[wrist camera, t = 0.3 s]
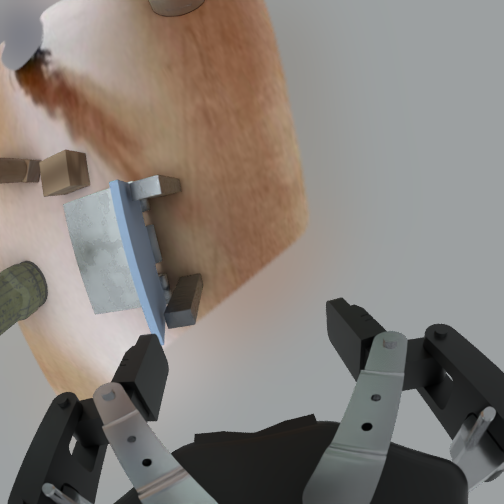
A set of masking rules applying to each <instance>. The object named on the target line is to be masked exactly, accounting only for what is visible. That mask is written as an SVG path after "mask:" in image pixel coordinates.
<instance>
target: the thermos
mask: <svg viewBox="0 0 504 504" xmlns="http://www.w3.org/2000/svg"><path fill="white" fill-rule="evenodd" d="M47 294H48V292H47V284H46V281H45V278H44V276H43V274H42V272H41V270H40V269H39V268H38V267H37V266H36V265H35V264H33V263H32V262H29V261H25V262H22V263H20V264H17V265H13V266H11V267H9V268H7V269H5V270H3V271H2V272H1V273H0V335H1V334H3V333H4V332H5V331H6V330H7V329H9V328H10V327H11V326H12V325H14V324H15V323H16V322H17V321H19V320H24V319H26V318H28V317H29V316H30V315H31V314H33V313H34V312H35V311H36V310H37V309H38V307H40V306H41V305H43V304H44V303H45V301H46V299H47Z"/></svg>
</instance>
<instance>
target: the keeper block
mask: <svg viewBox="0 0 504 504" xmlns="http://www.w3.org/2000/svg"><path fill="white" fill-rule="evenodd" d="M39 164H40V173H41V181H42V188H43V194H44V197H46V196H55V195H65V194H68V193H70V192H73V191H76V190H78V189H81V188H84V187H86V186H89V185H90V181H89V175H88V168H87V161H86V154H85V153H80V152H75V151H70V150H64V151H61V152H59V153H57V154H55V155H53V156H51V157H49V158H47V159H45V160H43V161H41V162H39Z"/></svg>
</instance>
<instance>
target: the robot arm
mask: <svg viewBox="0 0 504 504" xmlns="http://www.w3.org/2000/svg"><path fill="white" fill-rule="evenodd" d="M149 2H150V5H151V7H152V10H153V11H154V12H155V13H157V14H159V15H163V16H177V15H182V14H185V13H188V12H190V11H193V10H194V9H196V8H197V7H199V6H200V5H201V4H202V3H203V2H204V0H149ZM326 315H327V331H328V336H329V339H330V341H331V343H332V345H333V346H334V348H335V349H336V351H337V352H338V354H339V355H340V357H341V359H342V360H343V362H344V363H345V365H346V367H347V368H348V370H349V371H350V373H351V374H352V376H353V377H354V379H355V381H356V382H357V383H356V386H355V388H354V391H353V394H352V397H351V399H350V402H349V404H348V407H347V409H346V411H345V414H344V416H343V418H342V421H341V423H338V422H333V421H316V418H315V416H314V414H311V415H307V416H303V417H299V418H295V419H291V420H287V421H283V422H281V423H279V424H276V425H274V426H271V427H269V428H266V429H264V430H261V431H258V432H255V433H242V432H225V431H222V432H212V433H201V434H195V438H194V442H193V443H190V444H187V445H185V446H183V447H181V448H179V449H177V450H175V451H174V452H172V453H170V452H169V451H168V450H167V449H166V447H165V446H164V445H163V444H162V443H161V441H160V440H159V439H158V437H157V436H156V435H155V433H154V432H153V431H152V429H151V428H150V427H149V425H148V424H147V421H157V420H158V415H159V410H160V406H161V401H162V397H163V392H164V389H165V384H166V380H167V376H168V371H169V368H168V362H167V359H166V356H165V354H164V351H163V349H162V346H161V344H160V341H159V338H158V336H157V335H156V334H147V335H140V337H139V339H138V341H137V343H136V345H135V346H132V347H131V348H130V349H129V350H128V351H127V352H126V353H125V355H124V357H123V359H122V361H121V363H120V366H119V367H118V369H117V371H116V373H115V375H114V377H113V379H112V381H111V383H106V384H104V385H102V386H100V387H99V388H97V389H96V391H95V392H94V394H93V398H90V399H85V400H81V401H79V399H78V398H77V396H76V395H75V394H74V393H72V392H65V393H62V394H60V395H58V396H57V397H56V398H55V399H54V400H53V401H52V403H51V405H50V407H49V409H48V411H47V412H46V414H45V416H44V418H43V420H42V422H41V424H40V426H39V428H38V430H37V432H36V434H35V436H34V438H33V440H32V442H31V445H30V447H29V449H28V451H27V453H26V456H25V458H24V460H23V463H22V465H21V467H20V470H19V472H18V475H17V477H16V480H15V483H14V485H13V488H12V491H11V493H10V497H9V500H8V504H94V503H95V498H96V493H97V488H98V483H99V478H100V474H101V470H102V465H103V461H104V457H105V453H106V449H107V445H108V444H110V445H111V447H112V449H113V451H114V453H115V455H116V456H117V459H118V460H119V462H120V464H121V466H122V468H123V469H124V471H125V473H126V474H127V476H128V478H129V479H130V481H131V483H132V484H133V486H134V487H133V488H132V489H131V490H130V491H129V492H127V493H126V494H125V495H124V496H123V497H121V498H120V499H119V500H118V501H116V502H115V503H114V504H468V493H469V492H470V491H472V490H473V489H474V488H476V487H477V486H479V485H480V484H481V483H483V482H489V481H492V480H494V479H496V478H497V477H498V476H499V475H500V474H501V473H502V472H503V471H504V373H503V372H502V371H501V370H500V369H499V368H498V367H497V366H496V365H495V364H494V363H493V362H491V361H490V360H489V359H488V358H487V357H486V356H485V355H484V354H483V353H481V352H480V351H479V350H478V349H477V348H476V347H474V346H473V345H472V344H471V343H470V342H469V341H468V340H466V339H465V338H464V337H463V336H462V335H461V334H459V333H458V332H457V331H456V330H455V329H453V328H452V327H450V326H448V325H445V324H434V325H431V326H429V327H428V328H427V329H426V331H425V336H424V337H423V338H417V339H410V340H407V338H406V337H405V336H404V335H403V334H401V333H399V332H395V331H386V330H385V329H384V328H383V327H382V326H381V325H380V324H379V323H378V322H377V321H376V320H375V319H373V317H372V316H371V315H369V314H368V312H366V310H365V309H364V308H362V307H359V306H357V305H351V306H350V305H349V304H348V303H347V302H346V301H345V300H344V299H343V298H338V299H334V300H330V301H327V302H326ZM446 372H447V373H448V374H449V375H450V376H451V377H452V379H453V381H452V380H451V379H450V378H449V376H448V375H447V374H446ZM410 389H417V391H418V392H419V393H420V394H421V396H422V397H423V399H424V400H425V402H426V403H427V404H428V406H429V407H430V409H431V410H432V411H433V413H434V414H435V416H436V417H437V419H438V420H439V421H440V423H441V424H442V426H443V427H444V429H445V430H446V431H447V433H448V434H449V436H450V437H451V439H452V440H453V441H452V443H451V446H450V454H451V457H452V462H451V461H450V460H447V459H444V458H440V457H437V456H433V455H429V454H426V453H423V452H420V451H416V450H413V449H410V448H407V447H404V446H401V445H398V444H395V443H393V442H391V438H392V434H393V430H394V426H395V422H396V417H397V412H398V408H399V403H400V398H401V392H402V391H404V390H410ZM72 436H74V437H75V439H76V440H77V442H76V444H75V447H74V450H73V453H72V455H71V454H70V451H69V444H70V441H71V438H72Z"/></svg>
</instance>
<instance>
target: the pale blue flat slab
mask: <svg viewBox="0 0 504 504" xmlns="http://www.w3.org/2000/svg"><path fill="white" fill-rule="evenodd" d="M109 185H110V190H111V196H112V200H113V205H114V210H115V215H116V219H117V223H118V228H119V232H120V236H121V240H122V244H123V247H124V251H125V255H126V258H127V262H128V265H129V269H130V272H131V275H132V279H133V282H134V285H135V288H136V291H137V294H138V297H139V300H140V303H141V306H142V309H143V312H144V315H145V318H146V320H147V323H148V326H149V328H150V331H151V334H156V335H157V336H158V338H159V341H160V344H161V345H164V335H165V318H164V315H163V314H164V311H165V309H166V304H167V303H166V300H165V297H164V293H163V290H162V287H161V283H160V280H159V277H158V273H157V270H156V266H155V264H156V263H158V262H161V261H162V257H161V253H160V249H159V245H158V241H157V237H156V233H155V229H154V225H153V224H152V225H148V226H145V223H144V218H143V214H142V209H141V205H140V200H137V201H132V196H131V191H130V186H129V183H127V182H123V181H120V180H115V181H111V182H109Z"/></svg>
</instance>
